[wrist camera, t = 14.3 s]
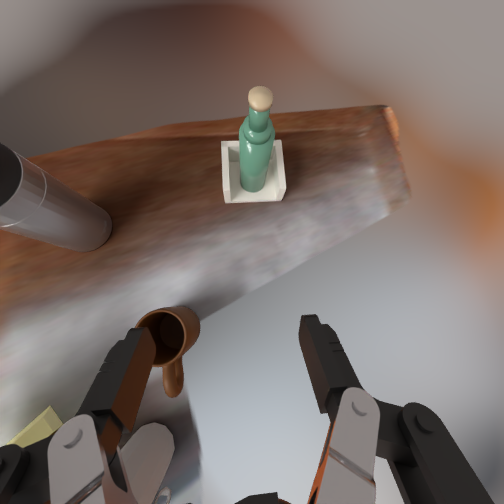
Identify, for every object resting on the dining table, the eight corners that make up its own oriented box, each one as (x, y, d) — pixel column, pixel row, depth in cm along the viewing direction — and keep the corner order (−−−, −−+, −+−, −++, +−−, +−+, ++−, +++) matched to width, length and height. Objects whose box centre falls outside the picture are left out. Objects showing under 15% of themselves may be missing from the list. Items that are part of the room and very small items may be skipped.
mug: (211, 371, 36) (200, 395, 27) (166, 384, 36) (139, 414, 27) (196, 301, 39) (182, 301, 30) (154, 312, 38) (126, 316, 29)
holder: (281, 200, 44) (286, 188, 39) (225, 203, 43) (223, 190, 38) (277, 156, 46) (281, 139, 41) (223, 158, 45) (221, 141, 40)
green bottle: (236, 188, 43) (233, 107, 25) (244, 166, 44) (246, 73, 26) (261, 195, 43) (276, 119, 25) (268, 173, 44) (287, 85, 26)
